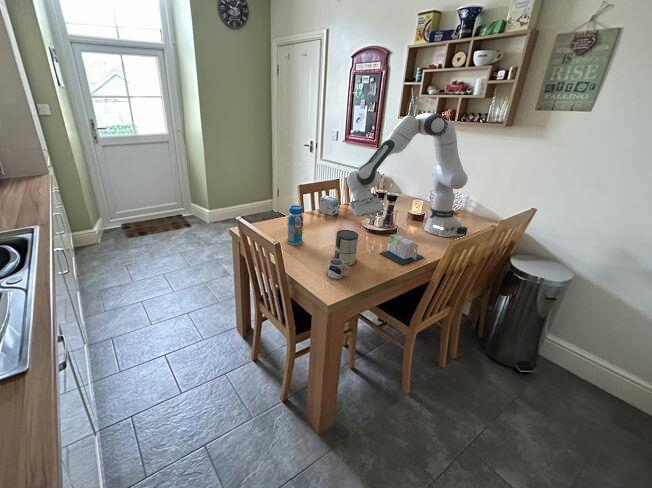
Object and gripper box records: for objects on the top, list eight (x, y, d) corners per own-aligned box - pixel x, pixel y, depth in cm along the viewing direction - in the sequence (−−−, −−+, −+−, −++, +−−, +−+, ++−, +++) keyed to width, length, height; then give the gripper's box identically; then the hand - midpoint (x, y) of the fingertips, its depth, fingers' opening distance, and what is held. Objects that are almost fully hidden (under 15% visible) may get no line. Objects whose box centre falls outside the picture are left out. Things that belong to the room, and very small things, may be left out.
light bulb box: (337, 213, 221) (339, 198, 216) (331, 216, 216) (333, 200, 212) (325, 209, 227) (326, 194, 223) (319, 212, 223) (320, 196, 219)
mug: (326, 277, 145) (327, 264, 142) (329, 270, 150) (331, 257, 148) (348, 281, 141) (350, 268, 139) (351, 274, 147) (353, 261, 144)
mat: (380, 253, 167) (380, 253, 167) (401, 247, 175) (401, 246, 175) (402, 265, 156) (402, 264, 156) (423, 257, 164) (423, 257, 164)
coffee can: (329, 259, 160) (332, 233, 154) (342, 253, 166) (345, 227, 161) (347, 267, 153) (350, 240, 147) (359, 260, 160) (362, 234, 154)
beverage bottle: (284, 243, 175) (285, 208, 167) (290, 237, 183) (291, 203, 174) (299, 246, 173) (301, 210, 165) (304, 240, 180) (306, 205, 172)
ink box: (388, 235, 167) (411, 246, 155) (396, 233, 169) (419, 244, 157) (386, 250, 170) (408, 262, 158) (393, 248, 172) (416, 260, 161)
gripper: (352, 198, 173) (363, 221, 170) (379, 193, 183) (390, 215, 180) (345, 204, 178) (356, 226, 175) (372, 199, 189) (383, 220, 185)
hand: (373, 220), depth 177 cm, fingers closed
